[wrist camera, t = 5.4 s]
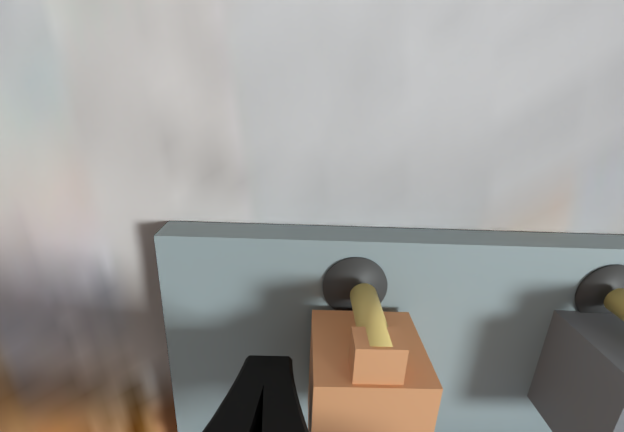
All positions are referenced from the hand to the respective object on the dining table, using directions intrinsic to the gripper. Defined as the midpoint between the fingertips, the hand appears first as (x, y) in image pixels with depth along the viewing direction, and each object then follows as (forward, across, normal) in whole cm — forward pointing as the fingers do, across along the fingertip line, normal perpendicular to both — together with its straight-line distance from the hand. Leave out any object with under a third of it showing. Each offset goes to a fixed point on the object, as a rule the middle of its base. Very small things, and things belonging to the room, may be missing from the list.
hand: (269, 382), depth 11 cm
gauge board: (+3, -4, +1) cm, 5 cm away
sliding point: (+1, -3, -1) cm, 3 cm away
